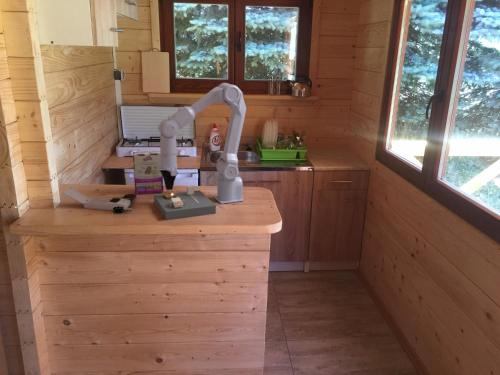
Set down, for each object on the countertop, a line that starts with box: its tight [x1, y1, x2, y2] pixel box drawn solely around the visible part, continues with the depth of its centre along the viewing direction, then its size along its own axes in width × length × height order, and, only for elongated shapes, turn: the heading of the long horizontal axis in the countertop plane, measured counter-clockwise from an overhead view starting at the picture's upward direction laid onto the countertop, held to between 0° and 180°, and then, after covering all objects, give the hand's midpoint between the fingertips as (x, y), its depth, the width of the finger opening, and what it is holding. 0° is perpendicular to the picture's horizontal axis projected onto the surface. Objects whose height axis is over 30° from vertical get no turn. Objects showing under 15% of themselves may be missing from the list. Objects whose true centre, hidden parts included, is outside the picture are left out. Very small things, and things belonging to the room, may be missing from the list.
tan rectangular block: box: [186, 184, 195, 195], centre depth 158 cm, size 2×2×3 cm
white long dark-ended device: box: [62, 187, 133, 212], centre depth 151 cm, size 6×6×25 cm
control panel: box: [153, 189, 217, 221], centre depth 153 cm, size 18×18×5 cm
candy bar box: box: [132, 150, 164, 195], centre depth 167 cm, size 11×5×16 cm, turn 106°
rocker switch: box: [171, 197, 183, 208], centre depth 147 cm, size 3×5×1 cm, turn 25°
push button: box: [164, 190, 175, 200], centre depth 156 cm, size 4×4×3 cm
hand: (169, 189), depth 155 cm, fingers closed
